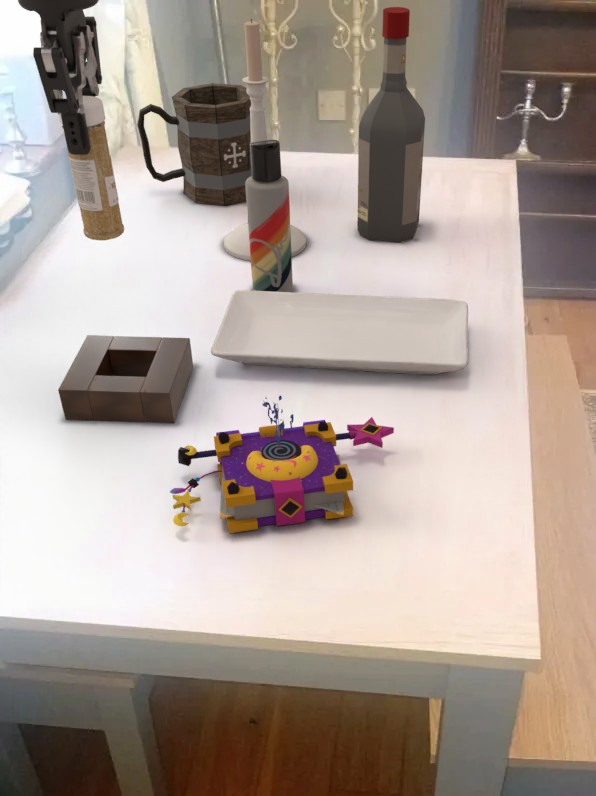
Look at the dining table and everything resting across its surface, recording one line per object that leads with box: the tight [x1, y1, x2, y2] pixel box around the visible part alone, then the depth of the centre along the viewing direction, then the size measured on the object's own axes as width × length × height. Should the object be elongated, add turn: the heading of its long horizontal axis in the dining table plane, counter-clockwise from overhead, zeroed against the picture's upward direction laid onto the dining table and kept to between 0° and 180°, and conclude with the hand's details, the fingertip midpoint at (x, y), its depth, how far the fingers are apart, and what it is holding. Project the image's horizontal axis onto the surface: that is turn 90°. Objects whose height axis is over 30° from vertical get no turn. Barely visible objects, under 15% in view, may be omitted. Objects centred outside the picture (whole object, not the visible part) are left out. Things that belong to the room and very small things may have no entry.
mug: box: [136, 82, 252, 207], centre depth 150 cm, size 20×14×15 cm
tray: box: [210, 289, 469, 376], centre depth 115 cm, size 17×32×4 cm, turn 84°
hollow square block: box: [57, 334, 194, 424], centre depth 107 cm, size 13×13×4 cm
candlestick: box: [223, 18, 307, 262], centre depth 129 cm, size 13×13×30 cm
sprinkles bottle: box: [58, 96, 125, 241], centre depth 95 cm, size 5×5×13 cm
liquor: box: [356, 6, 426, 244], centre depth 132 cm, size 9×9×30 cm
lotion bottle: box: [245, 139, 294, 292], centre depth 121 cm, size 6×6×20 cm
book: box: [169, 395, 395, 534], centre depth 90 cm, size 15×25×12 cm, turn 102°
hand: (86, 144), depth 93 cm, fingers closed on sprinkles bottle, 4 cm apart
